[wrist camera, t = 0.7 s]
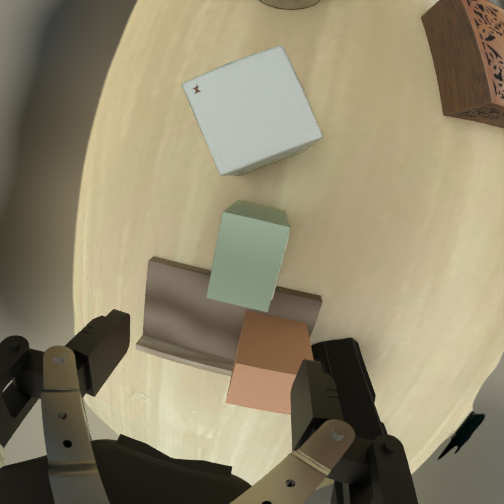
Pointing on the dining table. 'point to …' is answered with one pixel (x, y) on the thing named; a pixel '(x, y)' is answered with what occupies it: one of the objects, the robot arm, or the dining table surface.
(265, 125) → the supplement box
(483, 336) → the dining table surface
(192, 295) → the shallow tray
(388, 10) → the dining table surface
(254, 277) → the tea tin
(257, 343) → the terracotta tin
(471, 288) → the dining table surface
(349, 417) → the portable radio
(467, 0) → the tissue box cover
